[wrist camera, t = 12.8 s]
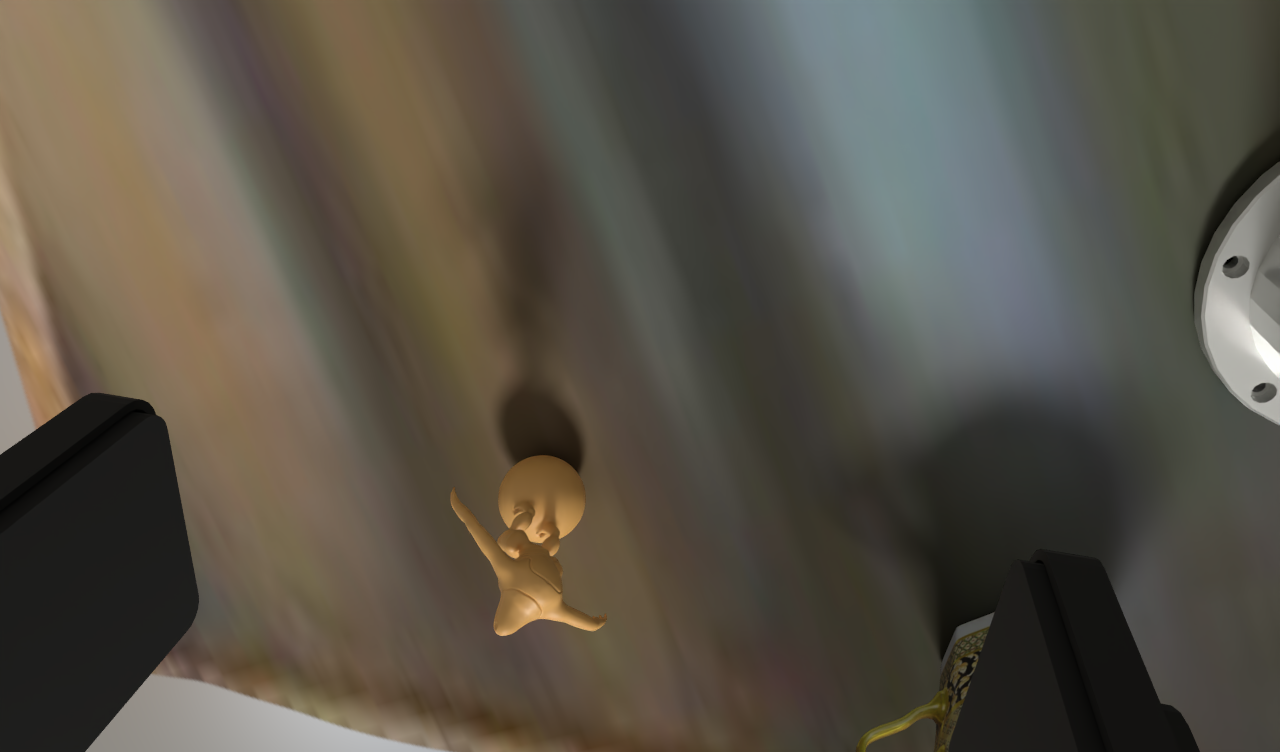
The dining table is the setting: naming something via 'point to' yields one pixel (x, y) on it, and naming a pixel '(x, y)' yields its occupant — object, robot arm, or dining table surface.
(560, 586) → the figurine
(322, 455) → the dining table surface
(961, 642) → the ceramic cup
